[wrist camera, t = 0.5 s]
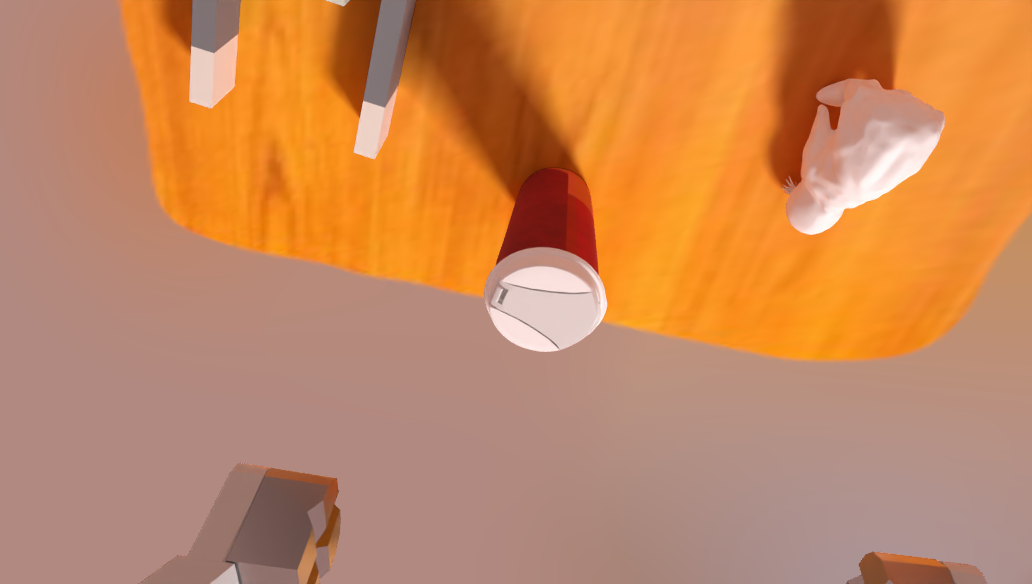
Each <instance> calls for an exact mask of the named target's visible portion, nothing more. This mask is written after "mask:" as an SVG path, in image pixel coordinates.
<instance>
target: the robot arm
mask: <svg viewBox="0 0 1032 584" xmlns="http://www.w3.org/2000/svg"><path fill="white" fill-rule="evenodd" d="M338 492H339V491H338V484H337V478H331V477H325V476H319V475H312V474H305V473H299V472H293V471H287V470H280V469H274V468H269V467H262V466H255V465H247V464H241V463H238V464H237V466H236V467H235V468H234V469H233V470H232V471H231V472H230V474H229V476H228V478H227V480H226V481H225V483H224V486H223V487H222V489H221V491H220V493H219V495H218V497H217V499H216V501H215V503H214V505H213V507H212V509H211V511H210V513H209V515H208V517H207V519H206V521H205V523H204V525H203V527H202V529H201V531H200V532H199V534H198V536H197V538H196V540H195V542H194V544H193V546H192V548H191V550H190V552H189V554H188V556H178V555H177V556H176V557H175V558H173V559H172V560H171V561H169V562H168V563H166V564H165V565H164V566H162V567H161V568H160V569H158V570H157V571H155V572H154V573H153V574H151V575H150V576H148V577H147V578H146V579H144V580H143V581H141V582H140V583H139V584H320V578H321V577H323V576H324V575H325V574H326V573H327V572H329V571H330V569H331V566H332V563H333V560H334V556H335V553H336V549H337V544H338V539H339V534H340V523H341V522H340V521H341V518H340V509H339V508H338V507H336V505H335V501H336V498H337V495H338ZM859 567H860V570H861V574H862V575H860V576H858V577H855V578H853V579H851V580H849V581H847V583H846V584H987V582H986V580H985V578H984V576H983V574H982V573H981V572H980V570H979V569H978V568H977V567H975V566H972V565H968V564H960V563H951V562H943V561H937V560H935V559H928V558H920V557H912V556H904V555H896V554H888V553H879V552H871V553H868V554H866V555H865V556H864V558H863V559H862V560H861V562H860V563H859Z"/></svg>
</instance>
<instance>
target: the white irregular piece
mask: <svg viewBox="0 0 1032 584" xmlns="http://www.w3.org/2000/svg"><path fill="white" fill-rule="evenodd" d="M816 98H817V100H818V101H820V102H821V103H824V104H827V105H831V106H835V107H841V110H840V117H839V121H838V127H837V129H836V130H832V129H831V126H830V118H829V112H828V109H827V107H826V106H824V105H819V106H818V109H817V115H816V118H815V120H814V123H813V126H812V129H811V133H810V136H809V138H808V140H807V142H806V144H805V147H804V150H803V155H802V167H801V178H802V180H801V182H800V183H799V184H798V185H797V187H796V186H794V184H793V182H792V180H791V178H790V176H789V179H790V183H789V182H788V180H787V179H786V181H787V183H788V185H789V186H790V188H789V187H787V186H785V185H783V186H784V187H785V188H787V189H785V188H783V187H781V188H783V189H784V190H785V191H788V192H785V191H784V192H785V193H787V194H790V195H789V197H788V200H787V203H786V214H787V217H788V220H789V221H790V223H791V225H792V226H793V227H794V228H796V229H797V230H798V231H800V232H802V233H805V234H818V233H821V232H823V231H825V230H827V229H829V228H830V227H831V226H833V225H834V224H835V223H836V222H837V221H838V220H839V218H840V217H841V215H842V213H843V211H844V209H846V208H855V207H857V206H858V205H861V204H863V203H865V202H866V201H870V200H874V199H877V198H878V197H880V196H881V195H882V194H885V193H887V192H889V191H890V190H892V189H893V188H894V187H895V186H897V185H898V184H899V183H901V182H902V181H904V180H905V179H907V178H908V177H910V176H911V175H913V174H915V173H916V172H918V171H919V170H920V169H921V167H922V166H923V164H924V163H925V161H926V160H927V158H928V157H929V155H930V154H931V152H932V151H933V149H934V148H935V146H936V145H937V143H938V141H939V138H940V135H941V131H942V130H943V128H944V124H945V118H944V113H943V112H942V111H939V110H936V109H934V108H933V107H931V106H930V105H929V104H927V103H924V102H923V101H921V100H920V99H918V98H916V97H914V96H913V95H911V94H910V93H909V92H908V91H906V90H902V89H893V90H886V89H883V88H882V87H881V85H880V83H879V82H878V81H877V80H875V79H871V80H863V79H846V80H844V81H840V82H837V83H834V84H831V85H828V86H826V87H824V88H822V89H821V90H819V91H818V92H817V94H816ZM795 185H796V181H795Z"/></svg>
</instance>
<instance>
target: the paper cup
mask: <svg viewBox="0 0 1032 584" xmlns="http://www.w3.org/2000/svg"><path fill="white" fill-rule="evenodd" d="M484 298H485V304H486V307H487V310H488V312H489V314H490V316H491V319H492V321H493V323H494V325H495V326H496V328H497V329H498V330H499V332H500V333H501V334H502V335H503V336H504V337H506V338H507V339H508V340H510V341H511V342H513V343H515V344H516V345H518V346H521V347H523V348H527V349H530V350H535V351H546V352H549V351H558V350H561V349H564V348H566V347H569V346H571V345H573V344H575V343H577V342H579V341H580V340H582V339H583V338H584V337H586V336H587V335H588V334H590V333H591V332H592V331H593V330H594V329H595V328H596V326H598V325H599V323H600V322H601V320H602V319H603V317H604V314H605V312H606V308H607V300H606V295H605V289H604V286H603V283H602V280H601V279H600V277H599V273H598V262H597V250H596V239H595V229H594V219H593V209H592V202H591V196H590V192H589V189H588V187H587V185H586V184H585V182H584V181H583V180H582V179H581V178H580V177H579V176H578V175H576V174H575V173H573V172H571V171H569V170H566V169H562V168H546V169H542V170H540V171H537V172H535V173H534V174H532V175H531V176H530V177H529V178H528V179H527V180H526V181H525V182H524V184H523V185H522V187H521V189H520V192H519V194H518V197H517V200H516V203H515V206H514V209H513V212H512V216H511V219H510V222H509V225H508V229H507V232H506V235H505V238H504V241H503V244H502V247H501V250H500V253H499V256H498V259H497V262H496V266H495V267H494V268H493V270H492V271H491V273H490V274H489V276H488V278H487V281H486V284H485V291H484Z"/></svg>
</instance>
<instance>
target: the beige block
mask: <svg viewBox="0 0 1032 584" xmlns="http://www.w3.org/2000/svg"><path fill="white" fill-rule="evenodd" d="M326 1H329V2H332V3H335V4H338V5H341V6H345V5H346V4H347V3H348V2H349V1H350V0H326Z"/></svg>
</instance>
